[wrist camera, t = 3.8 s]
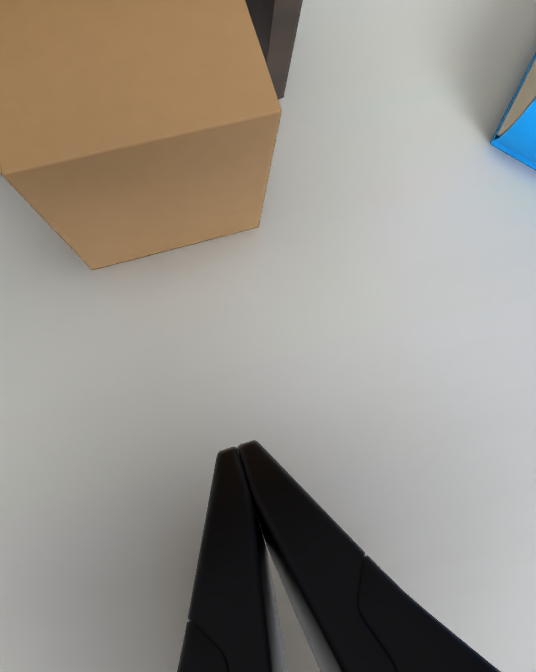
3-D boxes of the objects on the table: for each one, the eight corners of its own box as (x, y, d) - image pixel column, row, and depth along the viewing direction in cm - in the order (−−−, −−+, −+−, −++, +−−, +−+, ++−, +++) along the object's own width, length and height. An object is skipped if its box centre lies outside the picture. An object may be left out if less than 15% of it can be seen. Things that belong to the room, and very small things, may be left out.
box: (259, 227, 23) (283, 111, 14) (89, 271, 22) (-4, 175, 13) (201, 43, 24) (188, -173, 15) (37, 76, 23) (-82, -136, 14)
